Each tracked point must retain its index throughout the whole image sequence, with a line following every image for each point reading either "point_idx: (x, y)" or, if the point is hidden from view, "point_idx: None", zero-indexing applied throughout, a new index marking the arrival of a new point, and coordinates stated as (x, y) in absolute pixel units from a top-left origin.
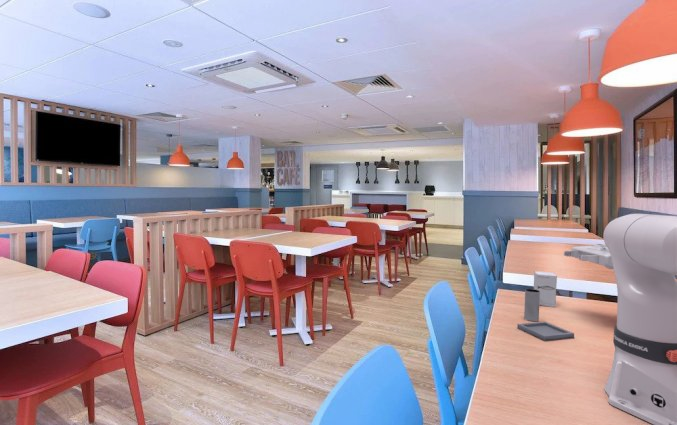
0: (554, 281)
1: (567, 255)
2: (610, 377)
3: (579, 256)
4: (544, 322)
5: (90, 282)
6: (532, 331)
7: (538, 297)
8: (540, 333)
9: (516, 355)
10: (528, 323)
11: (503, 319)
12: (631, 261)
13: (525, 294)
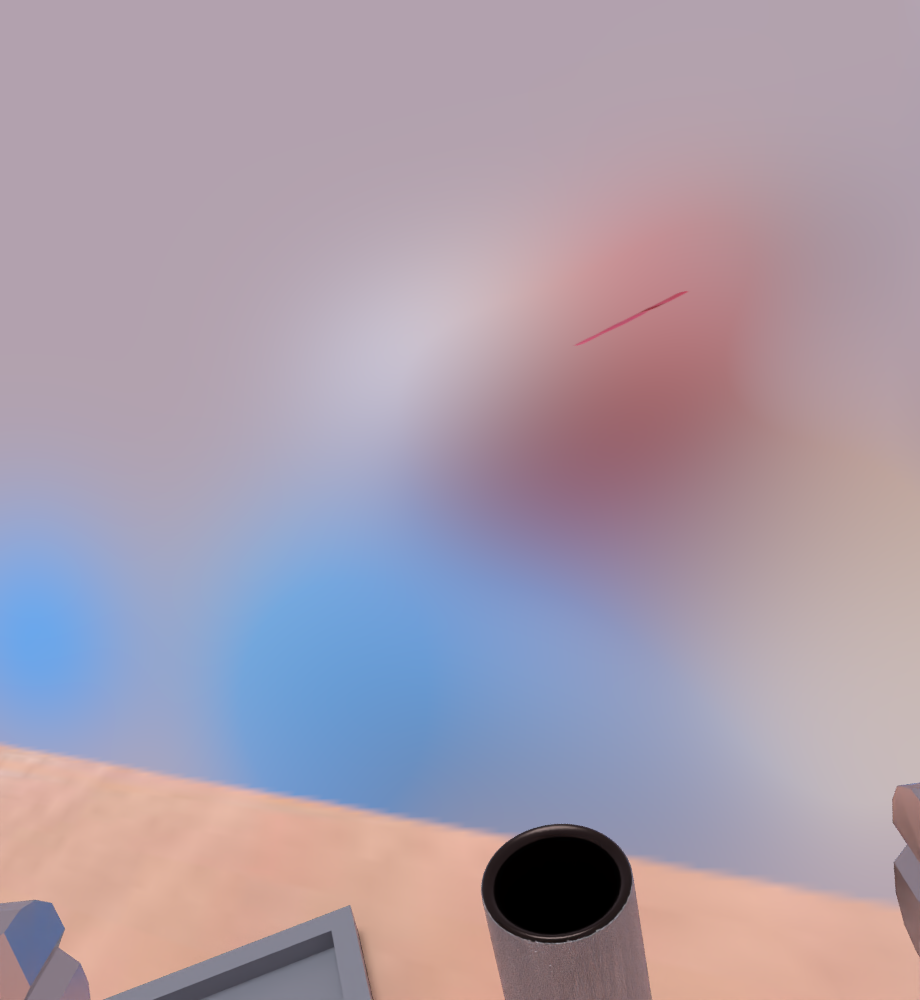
0: None
1: (917, 933)
2: None
3: (43, 915)
4: None
5: (632, 316)
6: (208, 963)
7: (502, 967)
8: (147, 994)
9: (25, 845)
10: (354, 979)
11: None
12: None
13: (558, 858)
